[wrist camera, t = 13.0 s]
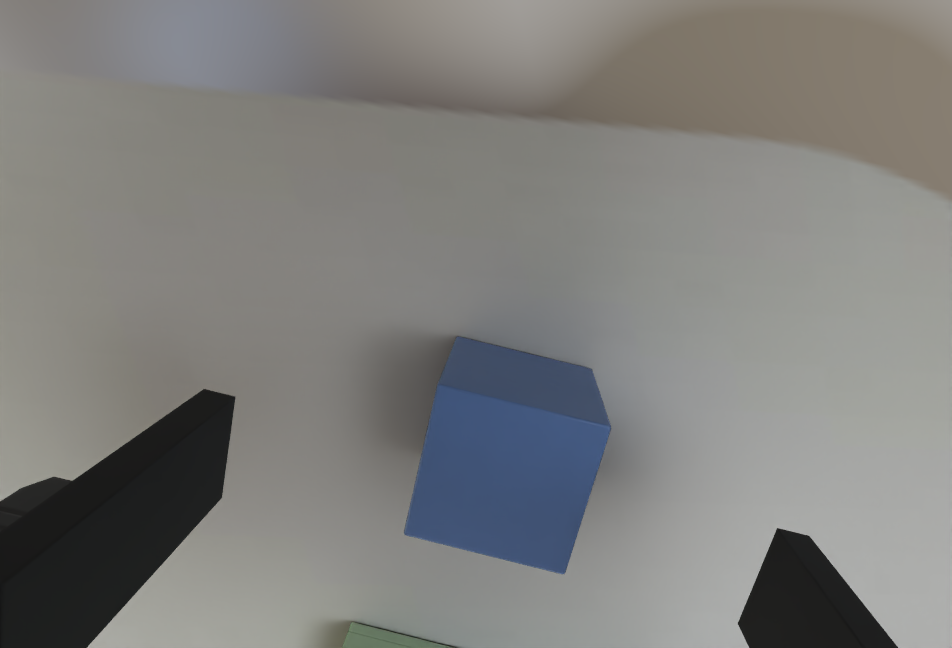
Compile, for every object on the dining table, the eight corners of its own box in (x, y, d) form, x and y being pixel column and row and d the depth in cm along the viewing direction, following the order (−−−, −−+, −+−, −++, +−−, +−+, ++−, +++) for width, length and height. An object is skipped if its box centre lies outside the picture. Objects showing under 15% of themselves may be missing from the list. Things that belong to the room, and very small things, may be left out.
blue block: (456, 335, 19) (437, 383, 15) (592, 368, 19) (612, 426, 15) (428, 457, 20) (403, 535, 16) (556, 489, 20) (564, 576, 16)
